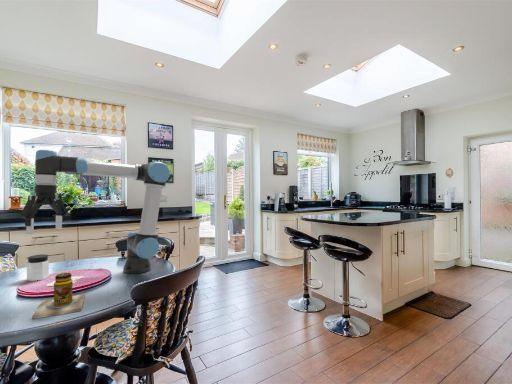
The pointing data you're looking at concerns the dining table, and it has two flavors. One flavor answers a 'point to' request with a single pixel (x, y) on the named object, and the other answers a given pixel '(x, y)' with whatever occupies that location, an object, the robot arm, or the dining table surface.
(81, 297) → the board
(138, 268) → the robot arm
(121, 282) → the dining table surface
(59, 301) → the condiment
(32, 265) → the jar
